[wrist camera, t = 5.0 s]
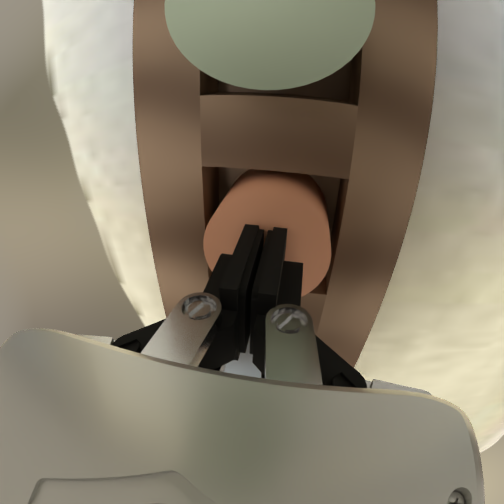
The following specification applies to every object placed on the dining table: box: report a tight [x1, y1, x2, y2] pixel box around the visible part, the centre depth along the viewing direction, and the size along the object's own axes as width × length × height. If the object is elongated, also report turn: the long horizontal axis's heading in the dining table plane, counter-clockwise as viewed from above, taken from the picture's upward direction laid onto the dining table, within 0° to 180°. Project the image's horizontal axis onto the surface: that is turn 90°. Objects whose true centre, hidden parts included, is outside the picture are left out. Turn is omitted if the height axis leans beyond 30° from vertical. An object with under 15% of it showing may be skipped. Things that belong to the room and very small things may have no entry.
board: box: [133, 0, 438, 368], centre depth 14 cm, size 28×12×3 cm, turn 179°
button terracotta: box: [203, 169, 331, 297], centre depth 14 cm, size 5×5×4 cm
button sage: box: [164, 0, 375, 90], centre depth 7 cm, size 5×5×4 cm
